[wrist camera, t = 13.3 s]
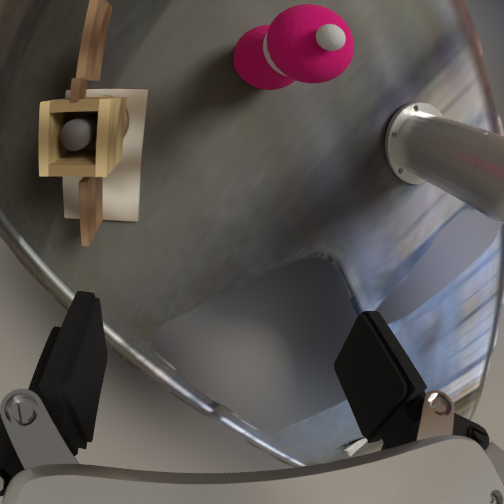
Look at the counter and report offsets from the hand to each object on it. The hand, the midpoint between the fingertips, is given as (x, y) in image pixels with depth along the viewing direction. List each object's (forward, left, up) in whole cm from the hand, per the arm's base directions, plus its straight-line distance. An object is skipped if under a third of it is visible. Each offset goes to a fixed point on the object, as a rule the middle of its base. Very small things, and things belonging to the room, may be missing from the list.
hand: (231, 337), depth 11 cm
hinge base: (+12, +1, -29) cm, 31 cm away
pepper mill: (-5, -12, -29) cm, 32 cm away
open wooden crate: (+12, -8, -25) cm, 29 cm away
